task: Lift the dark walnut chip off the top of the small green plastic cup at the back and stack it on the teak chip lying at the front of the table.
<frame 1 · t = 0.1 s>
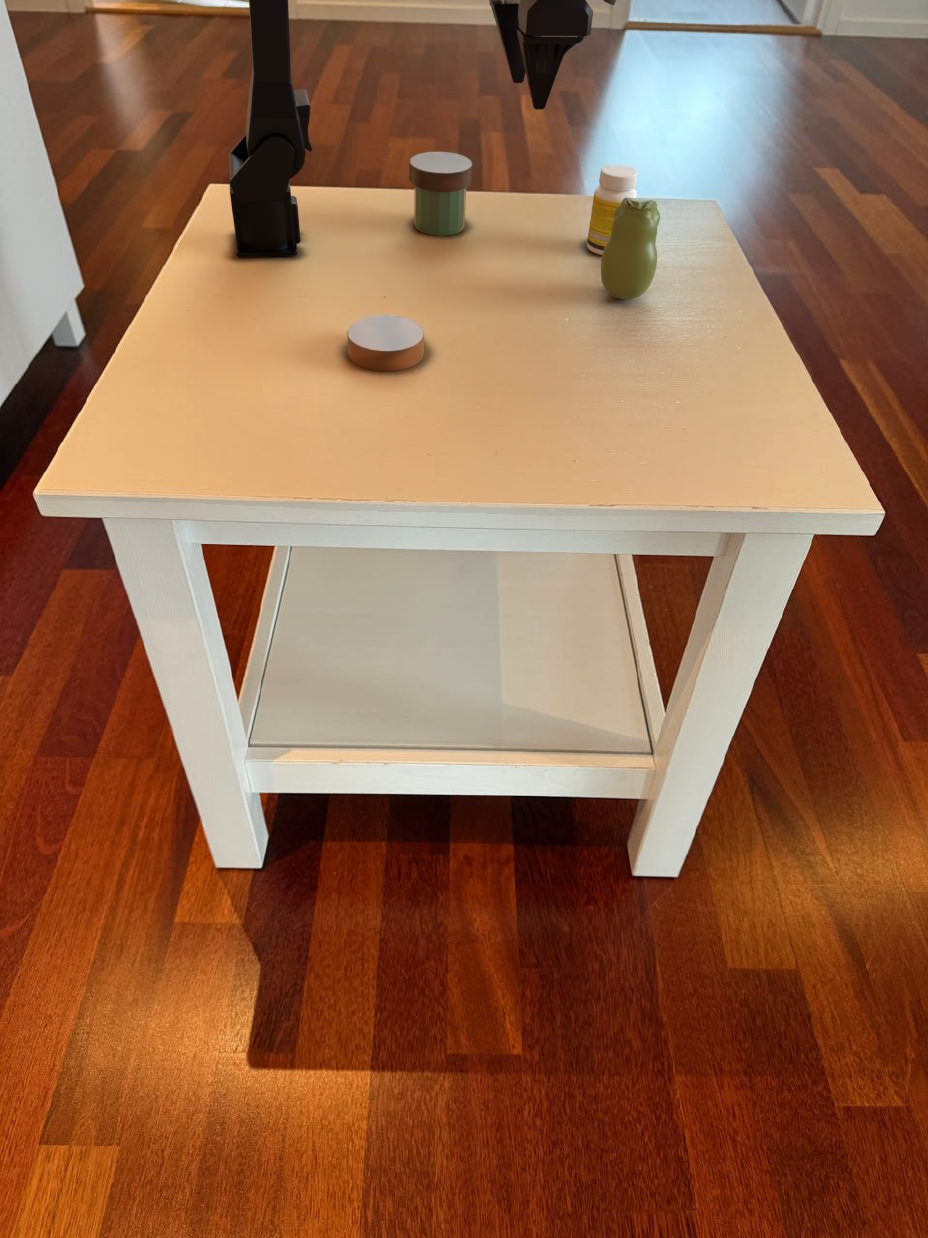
hand: (528, 95, 95), 15 cm above the table, tool pointing down, fingers open, 9 cm apart
teak chip: (386, 352, 85), on the table
plastic cup: (439, 225, 107), on the table
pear: (622, 298, 96), on the table
supplement bottle: (606, 250, 104), on the table
walnut chip: (440, 180, 103), point 5 cm above the table, touching plastic cup
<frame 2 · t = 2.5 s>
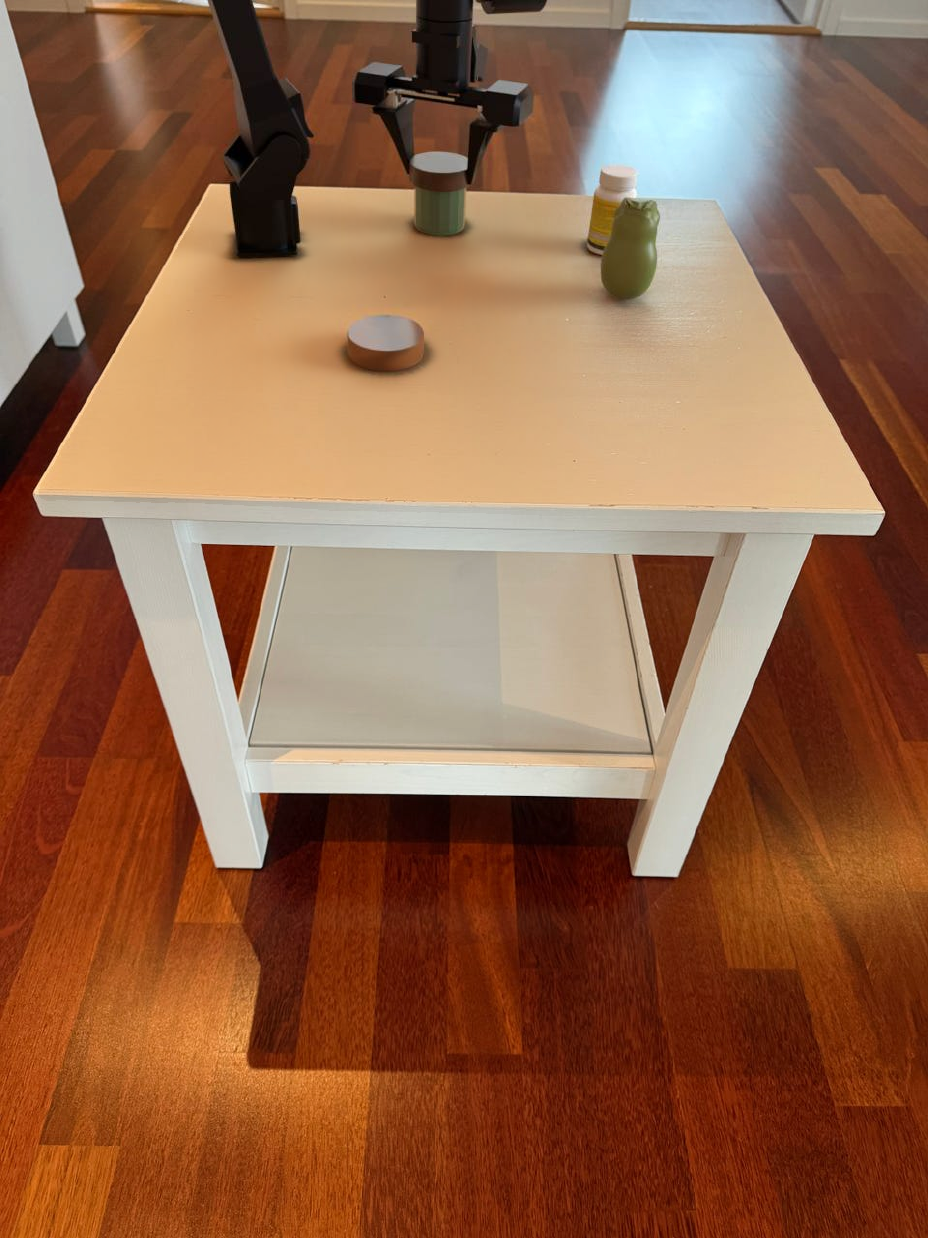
hand: (440, 178, 103), 5 cm above the table, tool pointing down, fingers closed on walnut chip, 7 cm apart
walnut chip: (440, 180, 103), point 5 cm above the table, touching gripper, plastic cup
everything else where it was.
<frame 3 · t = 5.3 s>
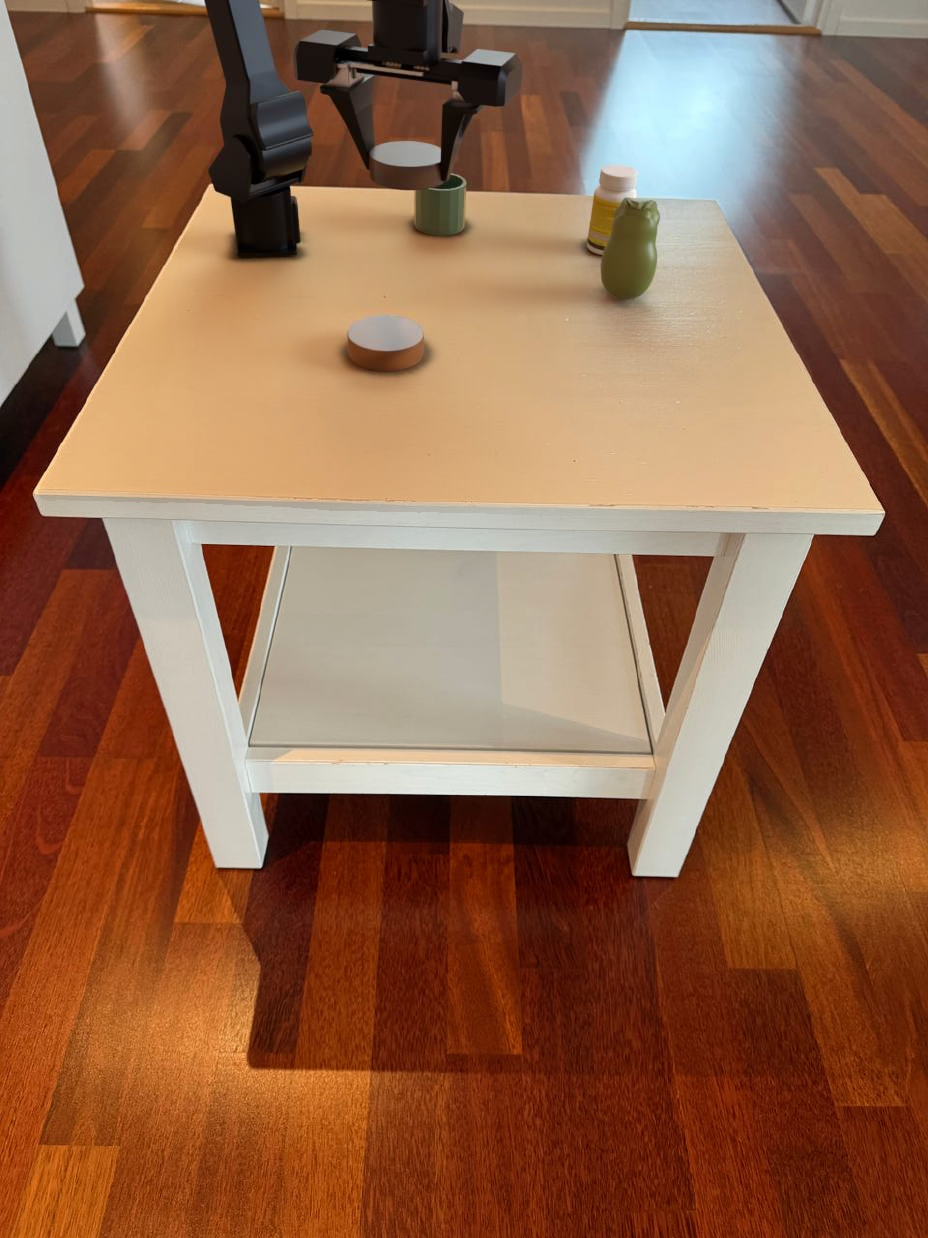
hand: (408, 174, 83), 12 cm above the table, tool pointing down, fingers closed on walnut chip, 7 cm apart
walnut chip: (408, 176, 84), point 12 cm above the table, touching gripper
everything else where it was.
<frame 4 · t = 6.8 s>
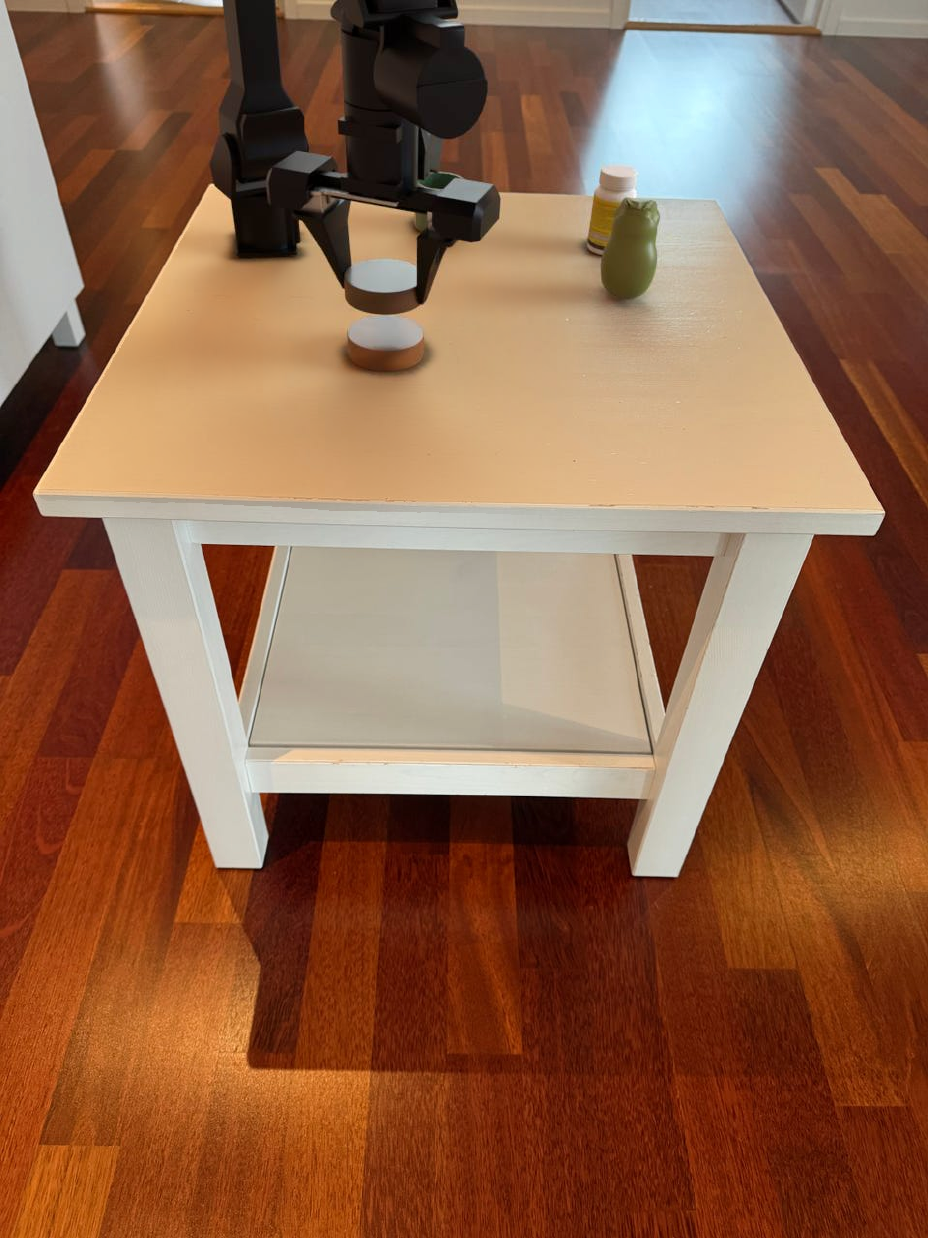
hand: (384, 294, 81), 6 cm above the table, tool pointing down, fingers closed on walnut chip, 7 cm apart
walnut chip: (384, 296, 81), point 5 cm above the table, touching gripper
everything else where it was.
when the fingers open (2 cm above the table, at t = 8.2 s): walnut chip stays where it is, resting on teak chip.
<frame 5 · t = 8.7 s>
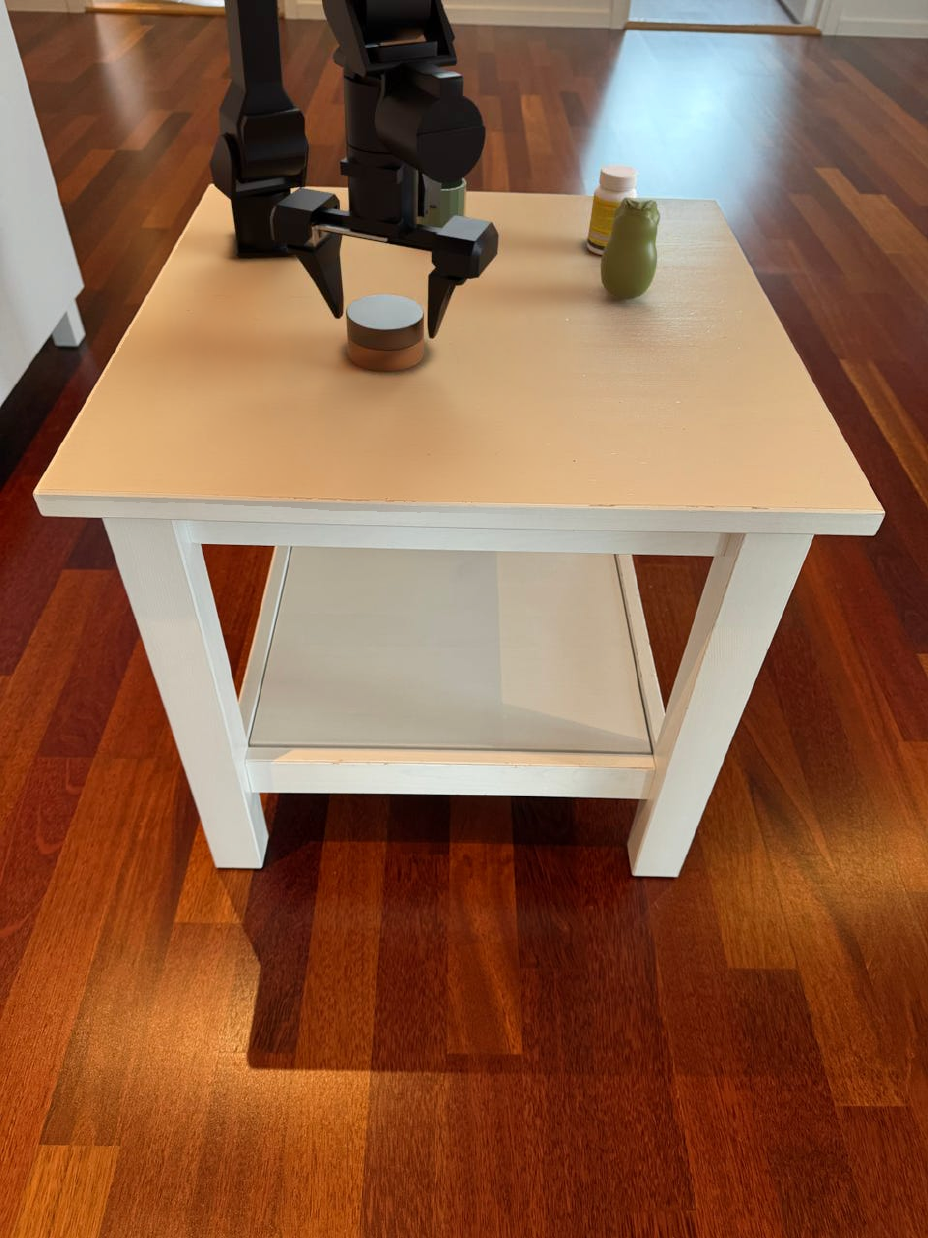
hand: (385, 326, 83), 3 cm above the table, tool pointing down, fingers open, 9 cm apart
teak chip: (386, 352, 85), on the table, touching walnut chip
walnut chip: (385, 331, 84), point 2 cm above the table, touching teak chip
everything else where it was.
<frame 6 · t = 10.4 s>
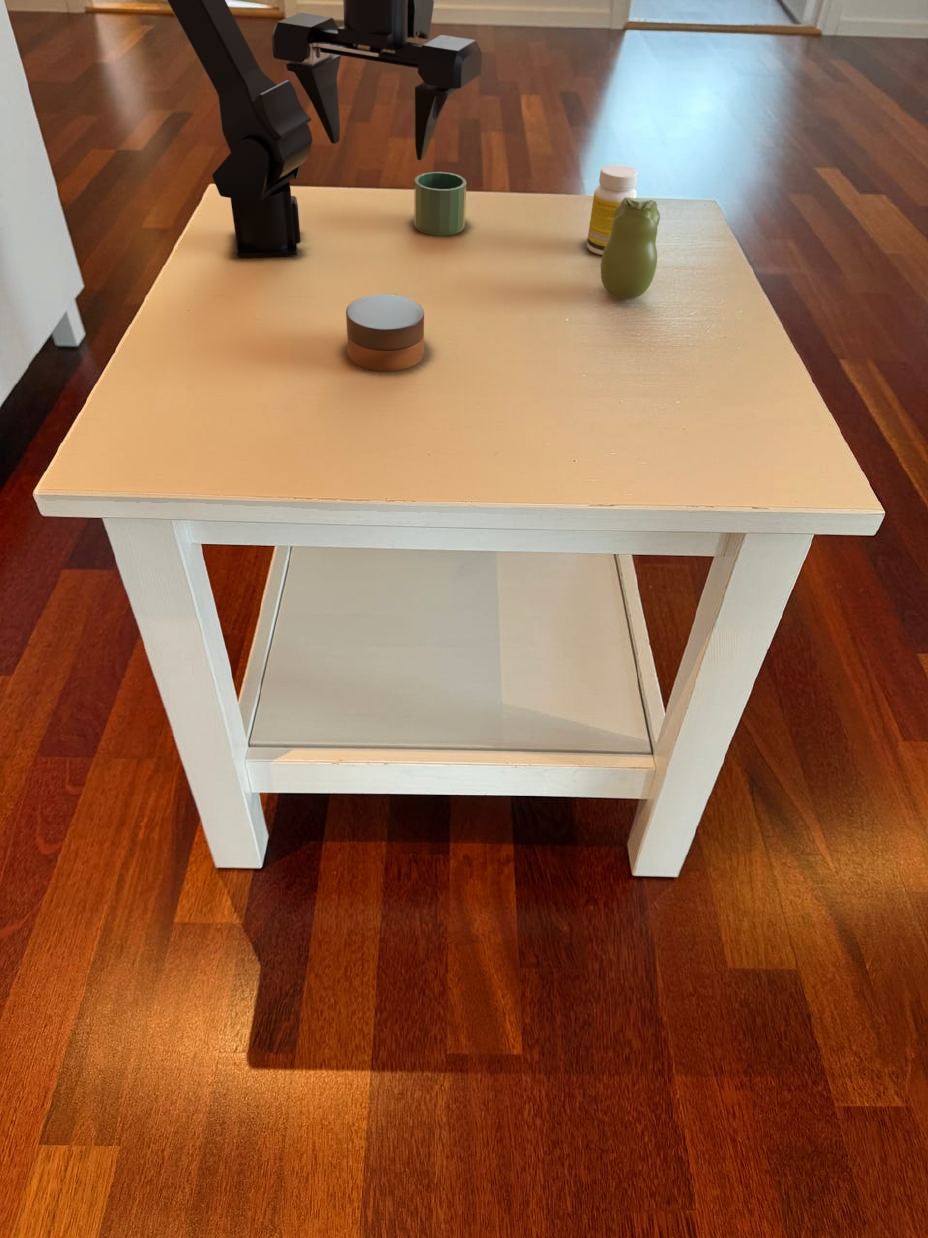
hand: (377, 150, 90), 12 cm above the table, tool pointing down, fingers open, 9 cm apart
nothing on the table moved.
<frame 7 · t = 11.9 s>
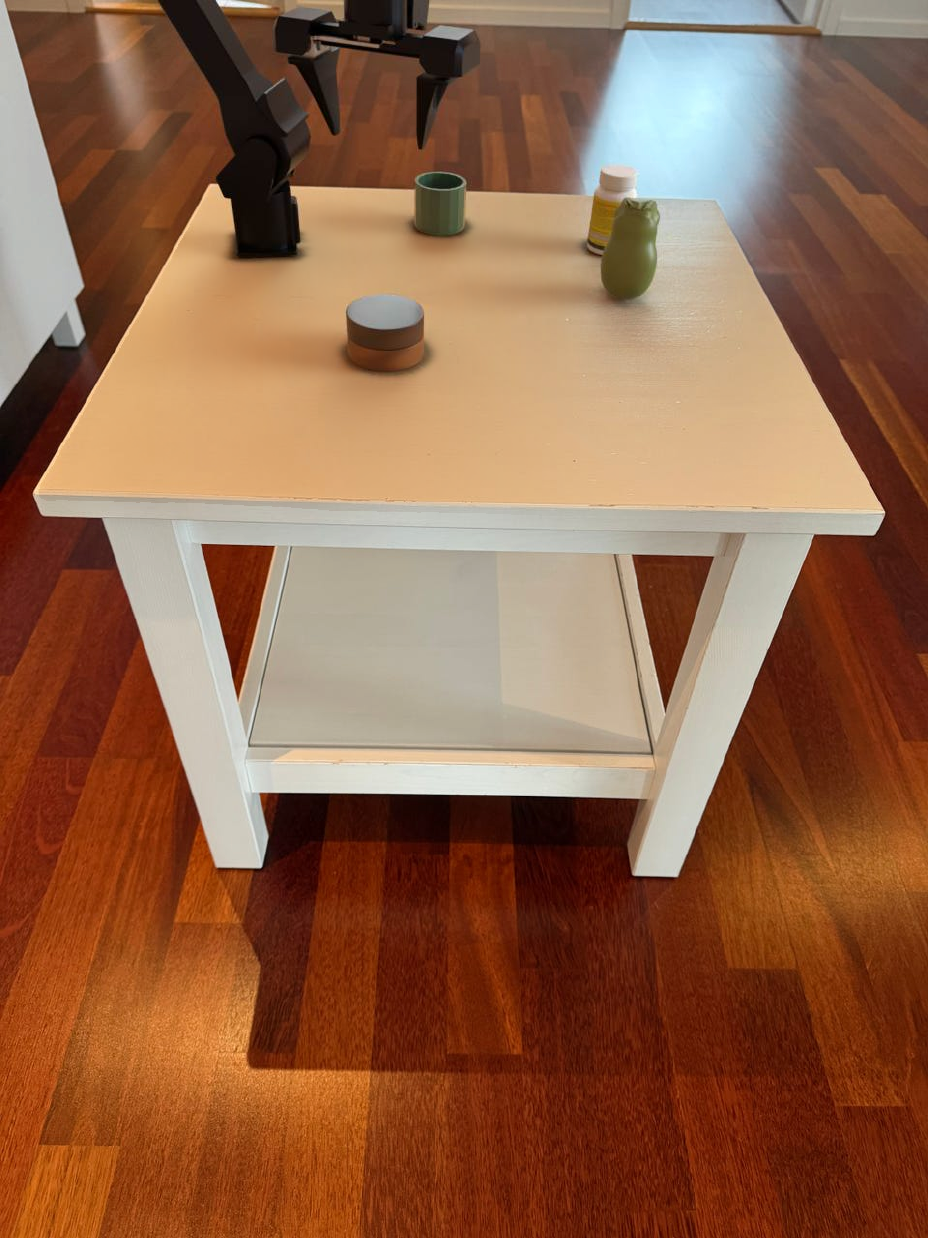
hand: (378, 141, 91), 12 cm above the table, tool pointing down, fingers open, 9 cm apart
nothing on the table moved.
at the end: walnut chip 0.1 cm off-centre on the teak chip, point 2.0 cm above the teak chip's base; walnut chip tilted 0°; the gripper is holding nothing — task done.
